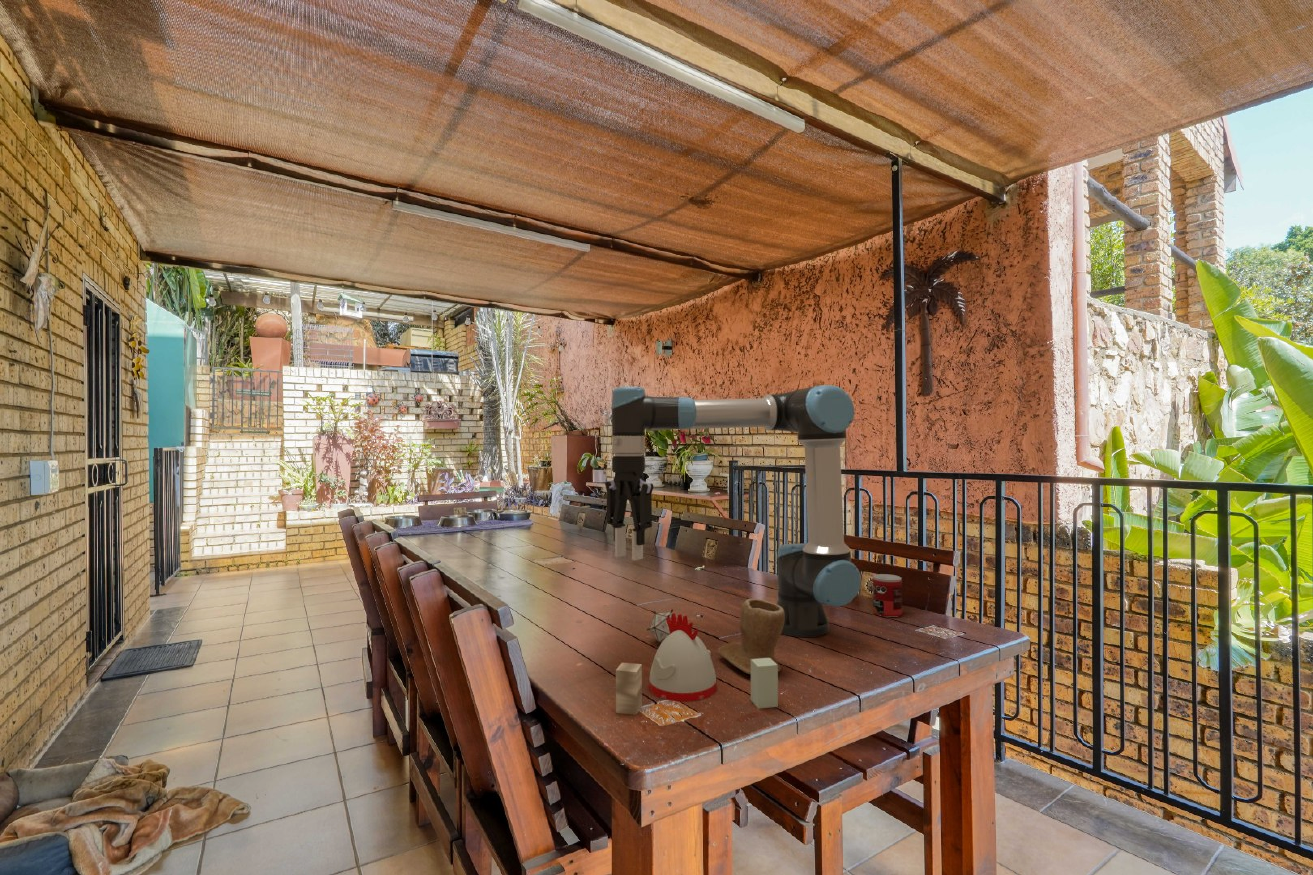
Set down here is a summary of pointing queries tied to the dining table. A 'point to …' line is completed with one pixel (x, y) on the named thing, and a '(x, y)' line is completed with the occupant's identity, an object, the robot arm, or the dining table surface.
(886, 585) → the canned food
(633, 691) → the birch block
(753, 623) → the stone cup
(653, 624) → the game die
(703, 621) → the dining table surface
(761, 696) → the sage block
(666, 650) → the kitchen timer
